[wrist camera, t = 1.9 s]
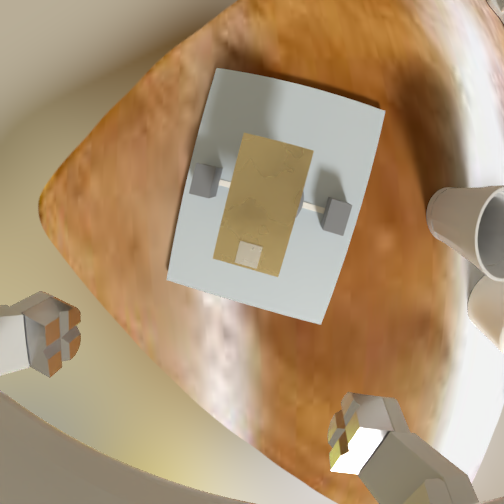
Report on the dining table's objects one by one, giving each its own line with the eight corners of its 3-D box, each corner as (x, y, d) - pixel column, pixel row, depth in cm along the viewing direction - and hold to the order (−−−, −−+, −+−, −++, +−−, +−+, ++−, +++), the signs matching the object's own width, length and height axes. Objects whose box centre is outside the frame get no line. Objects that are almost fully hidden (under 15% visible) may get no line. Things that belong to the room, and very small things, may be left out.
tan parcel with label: (252, 140, 25) (243, 132, 20) (310, 155, 24) (314, 150, 20) (225, 244, 27) (212, 258, 22) (280, 260, 27) (278, 277, 22)
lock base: (219, 71, 30) (201, 47, 23) (382, 113, 29) (404, 98, 22) (170, 276, 36) (144, 299, 29) (320, 319, 35) (325, 352, 28)
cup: (449, 262, 32) (505, 299, 20) (406, 219, 32) (458, 241, 20) (486, 211, 30) (549, 229, 18) (445, 165, 29) (507, 164, 18)
